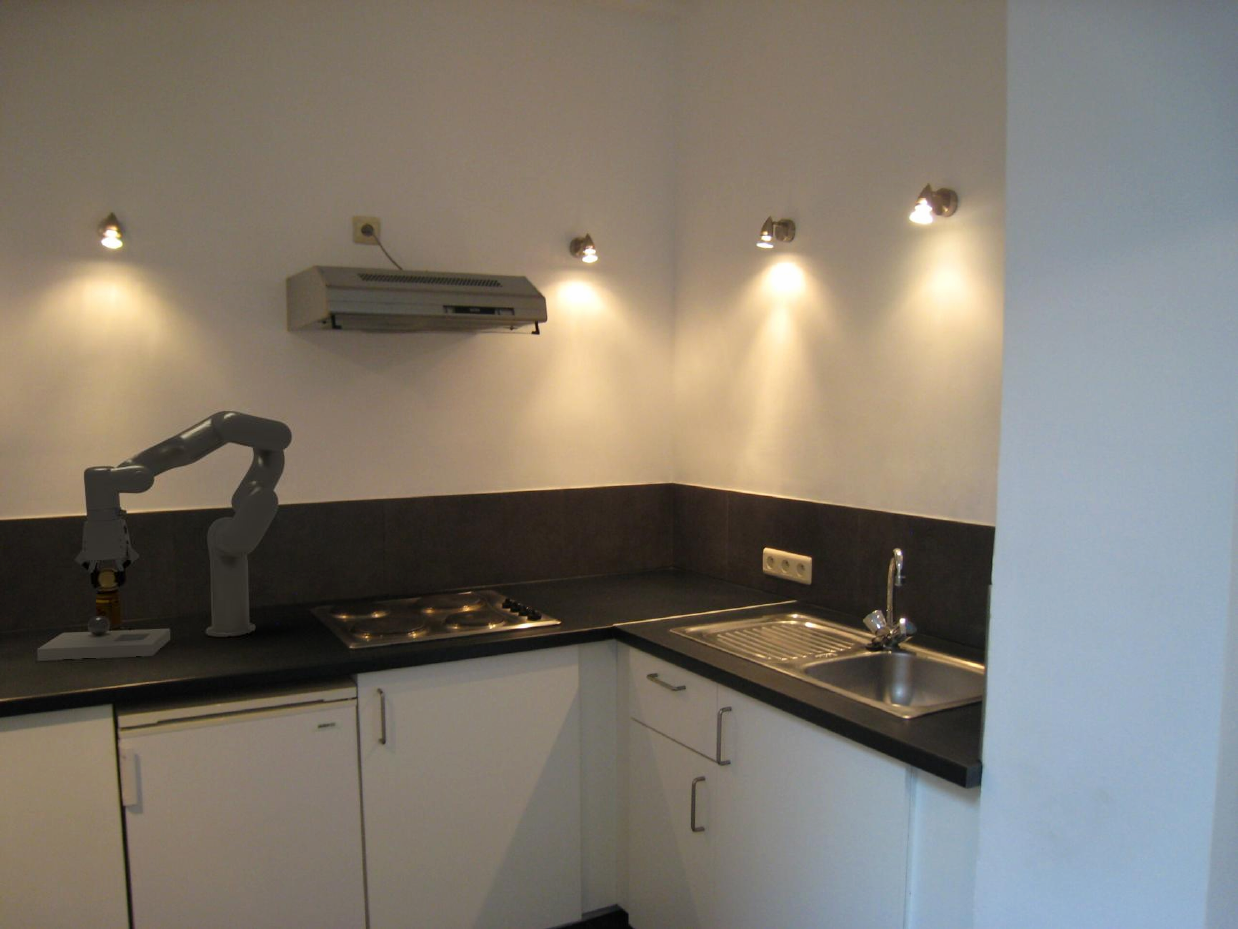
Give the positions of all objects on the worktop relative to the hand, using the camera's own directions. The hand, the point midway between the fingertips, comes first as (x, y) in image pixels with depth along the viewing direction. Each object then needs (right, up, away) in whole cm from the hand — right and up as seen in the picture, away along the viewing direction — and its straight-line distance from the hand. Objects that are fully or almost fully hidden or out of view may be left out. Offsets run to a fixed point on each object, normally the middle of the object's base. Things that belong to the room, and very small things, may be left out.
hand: (109, 585), depth 237 cm
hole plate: (-2, -17, +2) cm, 17 cm away
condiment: (-10, -16, +20) cm, 28 cm away
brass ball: (0, +2, 0) cm, 2 cm away
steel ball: (-5, -11, +5) cm, 13 cm away
